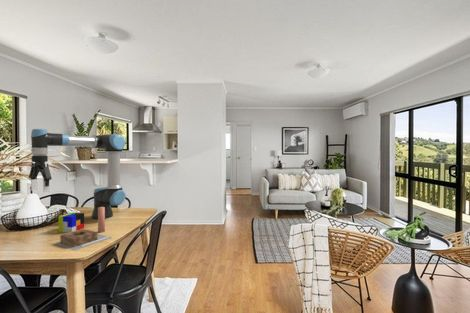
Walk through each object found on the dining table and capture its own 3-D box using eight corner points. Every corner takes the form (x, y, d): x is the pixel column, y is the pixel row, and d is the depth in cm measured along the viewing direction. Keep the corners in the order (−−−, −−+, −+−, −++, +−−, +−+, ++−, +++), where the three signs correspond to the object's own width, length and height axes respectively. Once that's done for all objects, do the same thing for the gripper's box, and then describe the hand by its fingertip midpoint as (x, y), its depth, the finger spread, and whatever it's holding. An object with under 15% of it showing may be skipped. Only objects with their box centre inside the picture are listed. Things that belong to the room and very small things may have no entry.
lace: (107, 237, 149) (107, 236, 149) (108, 237, 149) (108, 236, 149) (80, 246, 135) (80, 245, 135) (81, 246, 135) (81, 245, 135)
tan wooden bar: (102, 231, 162) (102, 206, 162) (106, 232, 161) (106, 207, 160) (96, 233, 159) (96, 207, 159) (100, 233, 157) (100, 208, 157)
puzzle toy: (71, 232, 160) (71, 217, 160) (58, 231, 162) (58, 216, 162) (84, 228, 170) (84, 213, 170) (71, 227, 172) (71, 212, 172)
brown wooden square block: (83, 236, 151) (83, 228, 151) (97, 239, 145) (97, 232, 145) (60, 243, 140) (60, 235, 140) (74, 247, 134) (74, 239, 134)
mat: (91, 233, 158) (91, 232, 158) (112, 238, 149) (112, 237, 149) (52, 244, 139) (52, 243, 139) (74, 251, 129) (74, 250, 129)
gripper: (21, 155, 151) (22, 190, 152) (43, 155, 140) (44, 193, 140) (36, 155, 158) (36, 188, 158) (58, 155, 146) (58, 191, 147)
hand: (40, 191), depth 149 cm, fingers open, 13 cm apart
